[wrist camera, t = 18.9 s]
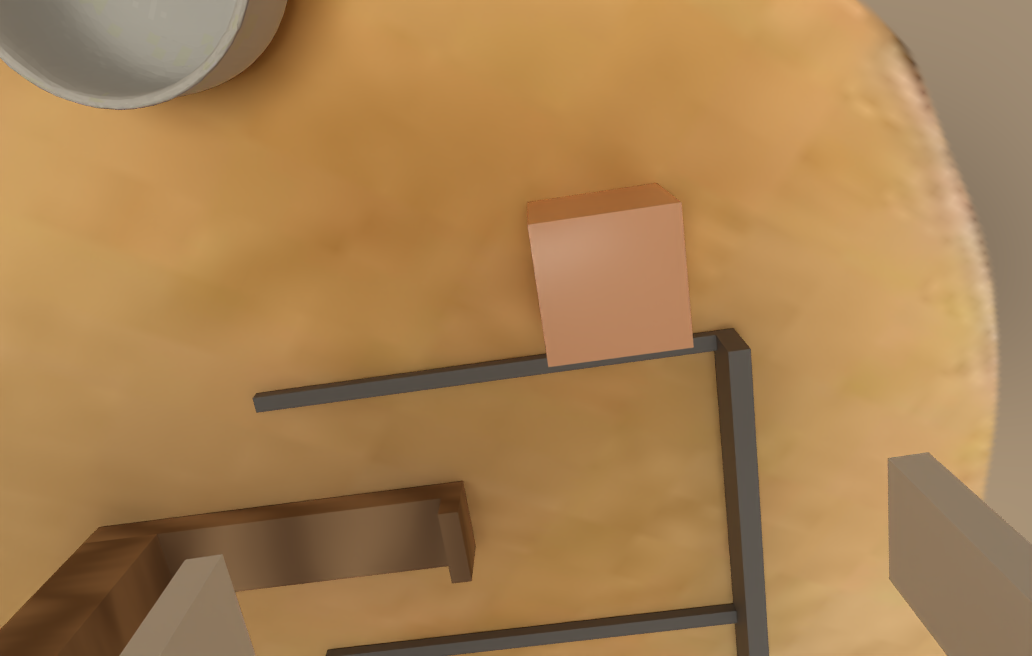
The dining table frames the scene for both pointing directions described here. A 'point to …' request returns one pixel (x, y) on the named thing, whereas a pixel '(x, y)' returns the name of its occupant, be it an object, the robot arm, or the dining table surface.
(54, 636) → the brown l-shaped block
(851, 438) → the dining table surface
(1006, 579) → the robot arm
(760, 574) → the bar
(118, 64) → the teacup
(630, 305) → the cube
